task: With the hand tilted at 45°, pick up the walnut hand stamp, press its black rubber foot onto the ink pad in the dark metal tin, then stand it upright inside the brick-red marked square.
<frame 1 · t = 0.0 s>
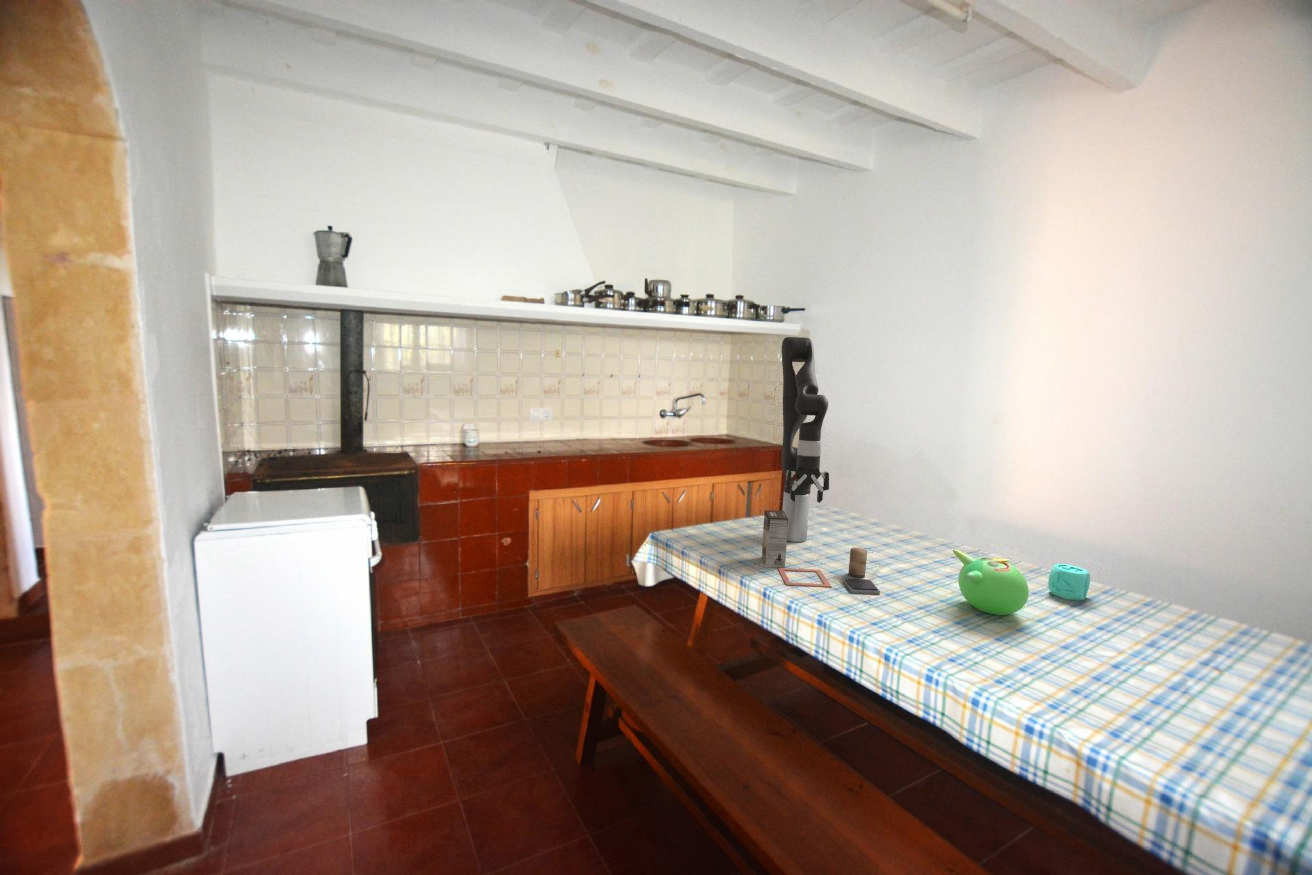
hand: (805, 501, 193), 17 cm above the table, tool pointing down, fingers open, 8 cm apart
stamp: (856, 575, 175), on the table
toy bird: (986, 610, 153), on the table
coffee box: (773, 563, 183), on the table
marked square: (803, 577, 171), on the table
decorative dice: (1066, 595, 166), on the table
ink pad: (860, 588, 165), on the table
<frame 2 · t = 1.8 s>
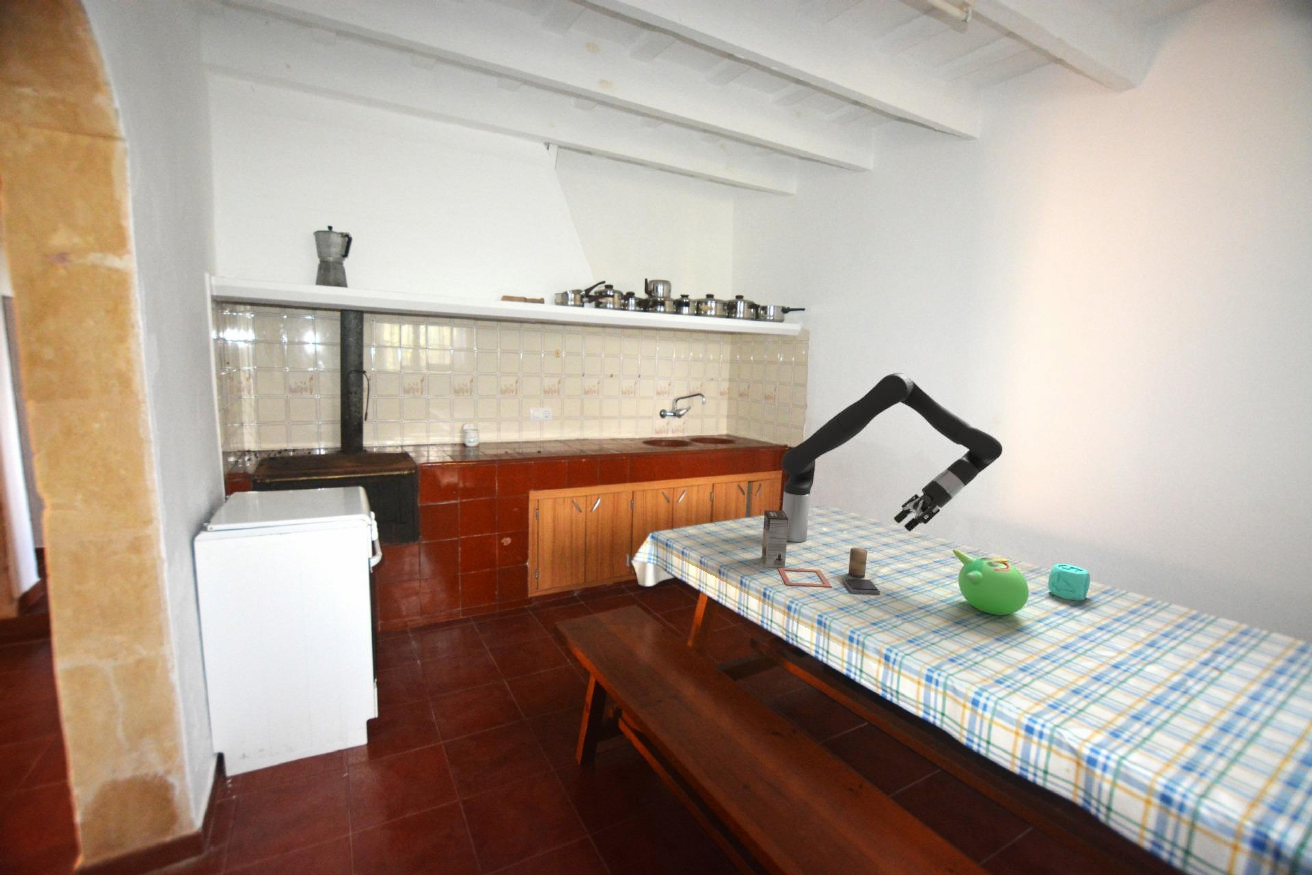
hand: (901, 524, 172), 17 cm above the table, tool tilted 45°, fingers open, 8 cm apart
nothing on the table moved.
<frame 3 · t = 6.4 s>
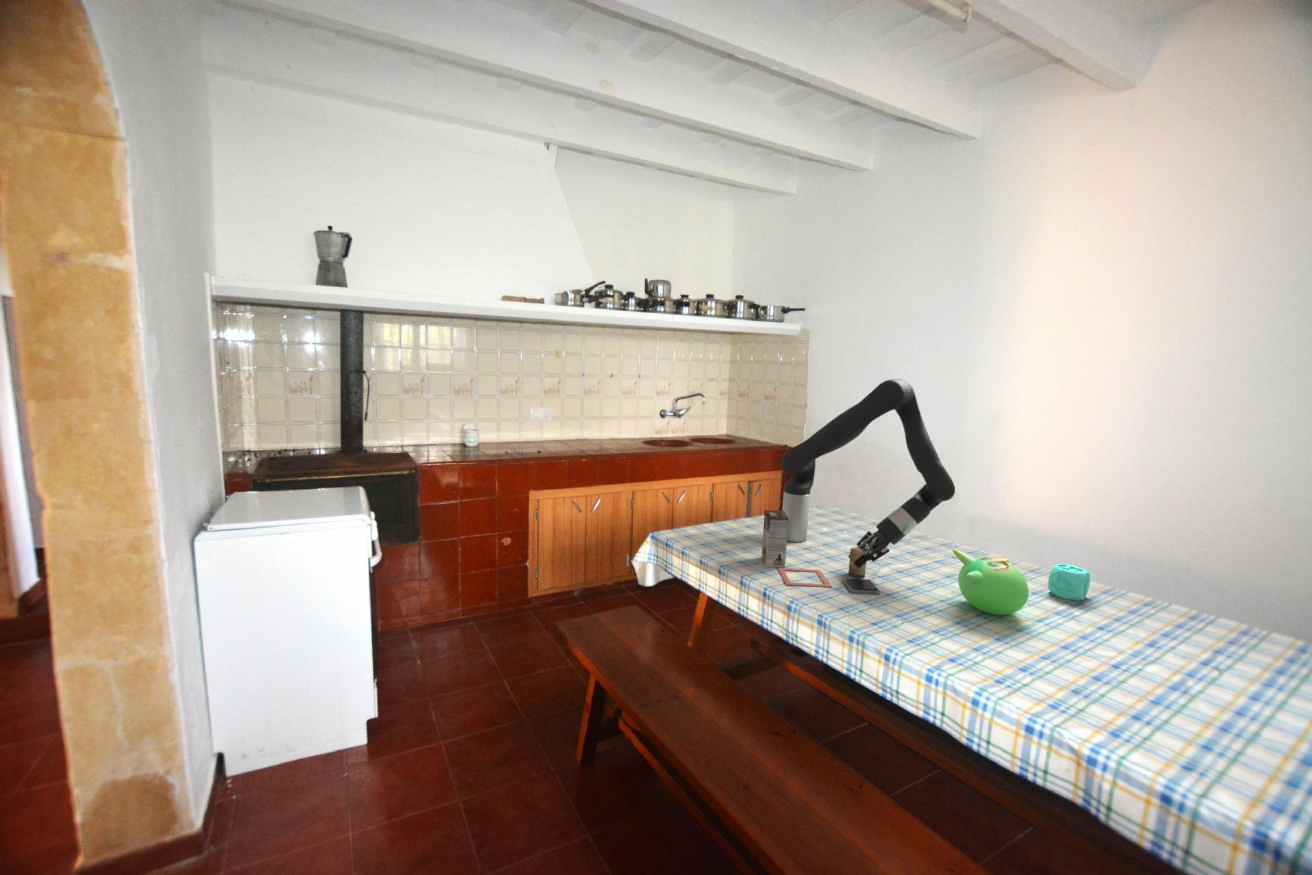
hand: (853, 562, 174), 4 cm above the table, tool tilted 45°, fingers closed on stamp, 4 cm apart
stamp: (856, 575, 175), on the table, touching gripper
everything else where it was.
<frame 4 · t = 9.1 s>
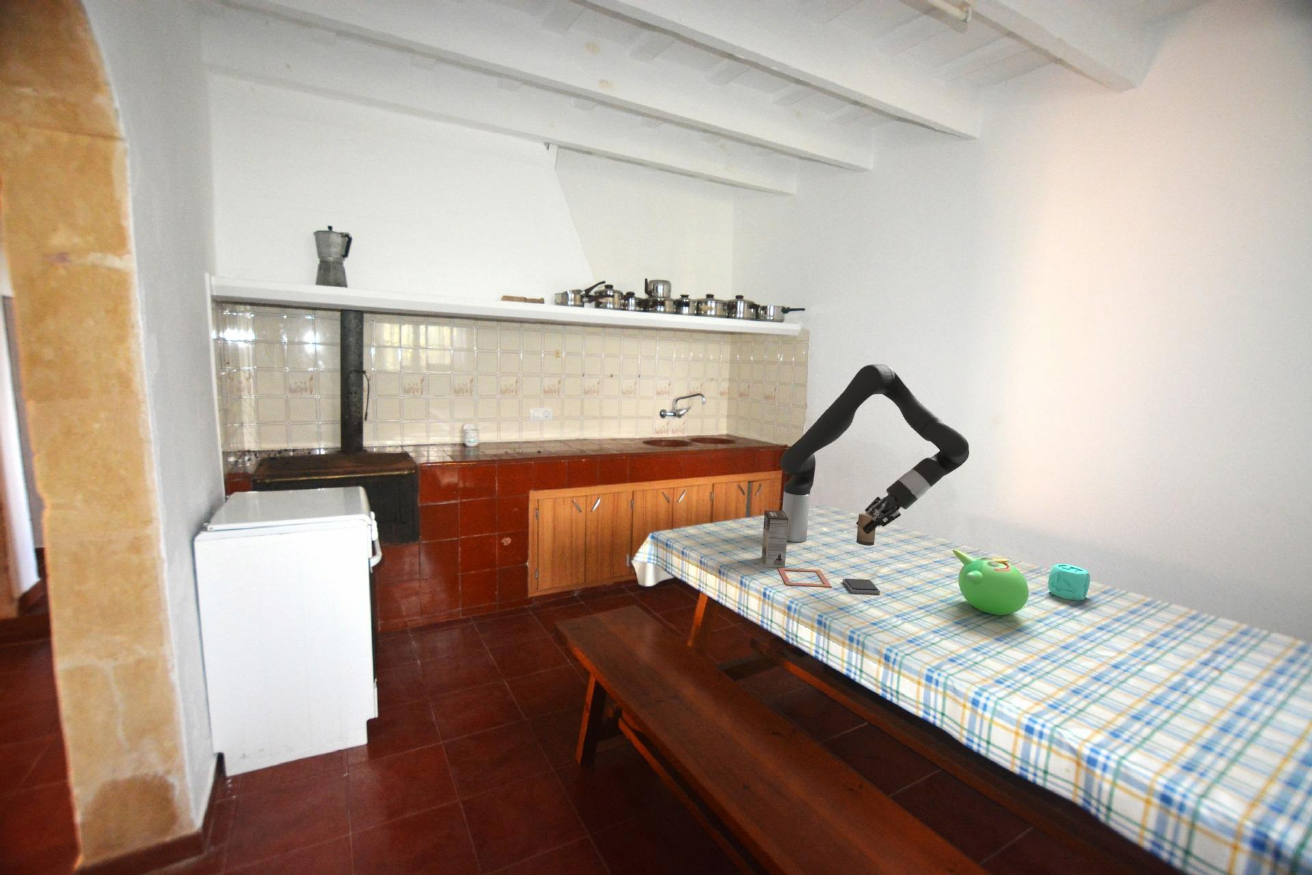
hand: (861, 528, 162), 18 cm above the table, tool tilted 45°, fingers closed on stamp, 4 cm apart
stamp: (865, 542, 163), point 13 cm above the table, touching gripper
everything else where it was.
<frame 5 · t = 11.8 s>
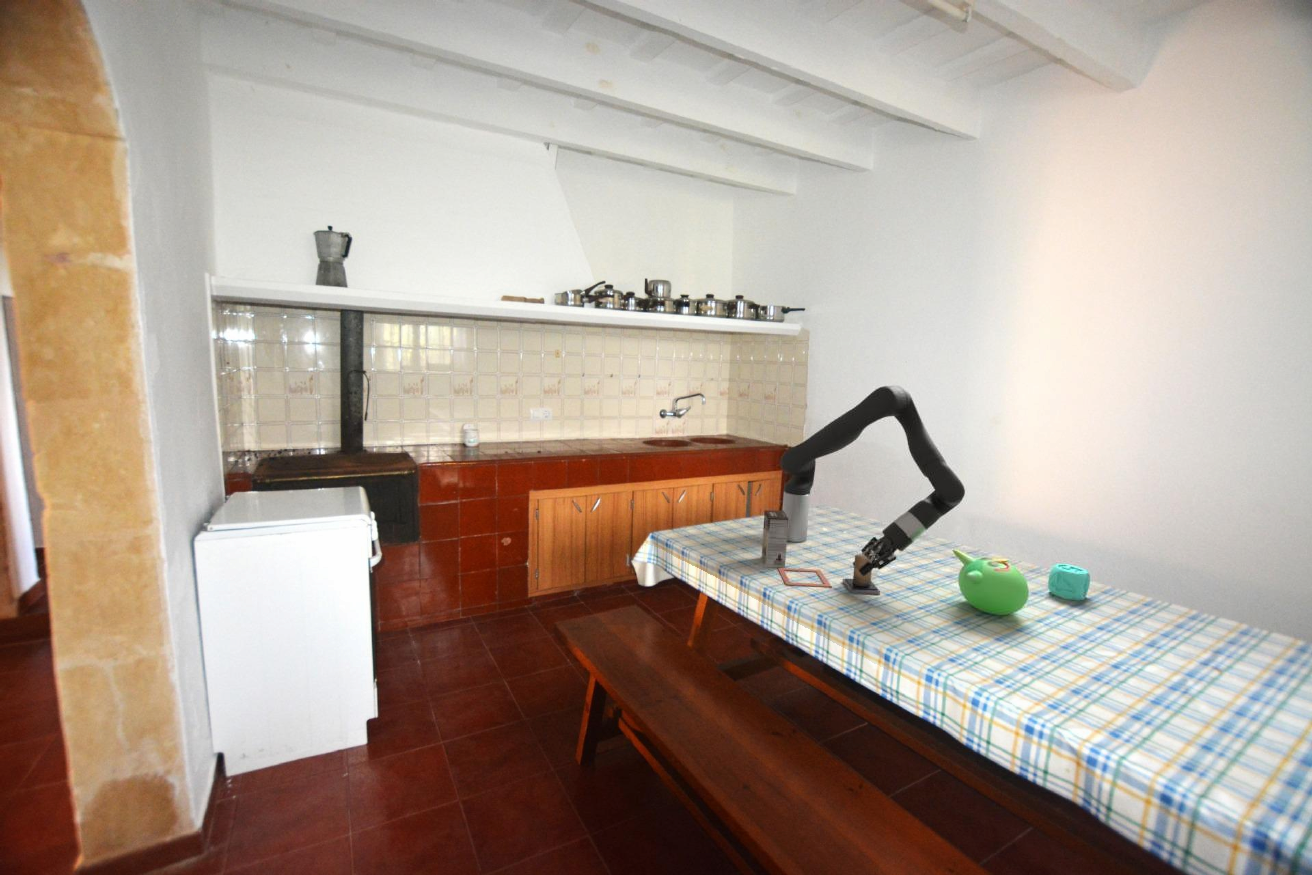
hand: (857, 569, 164), 5 cm above the table, tool tilted 45°, fingers closed on stamp, 4 cm apart
stamp: (861, 583, 165), point 1 cm above the table, touching gripper, ink pad
everything else where it was.
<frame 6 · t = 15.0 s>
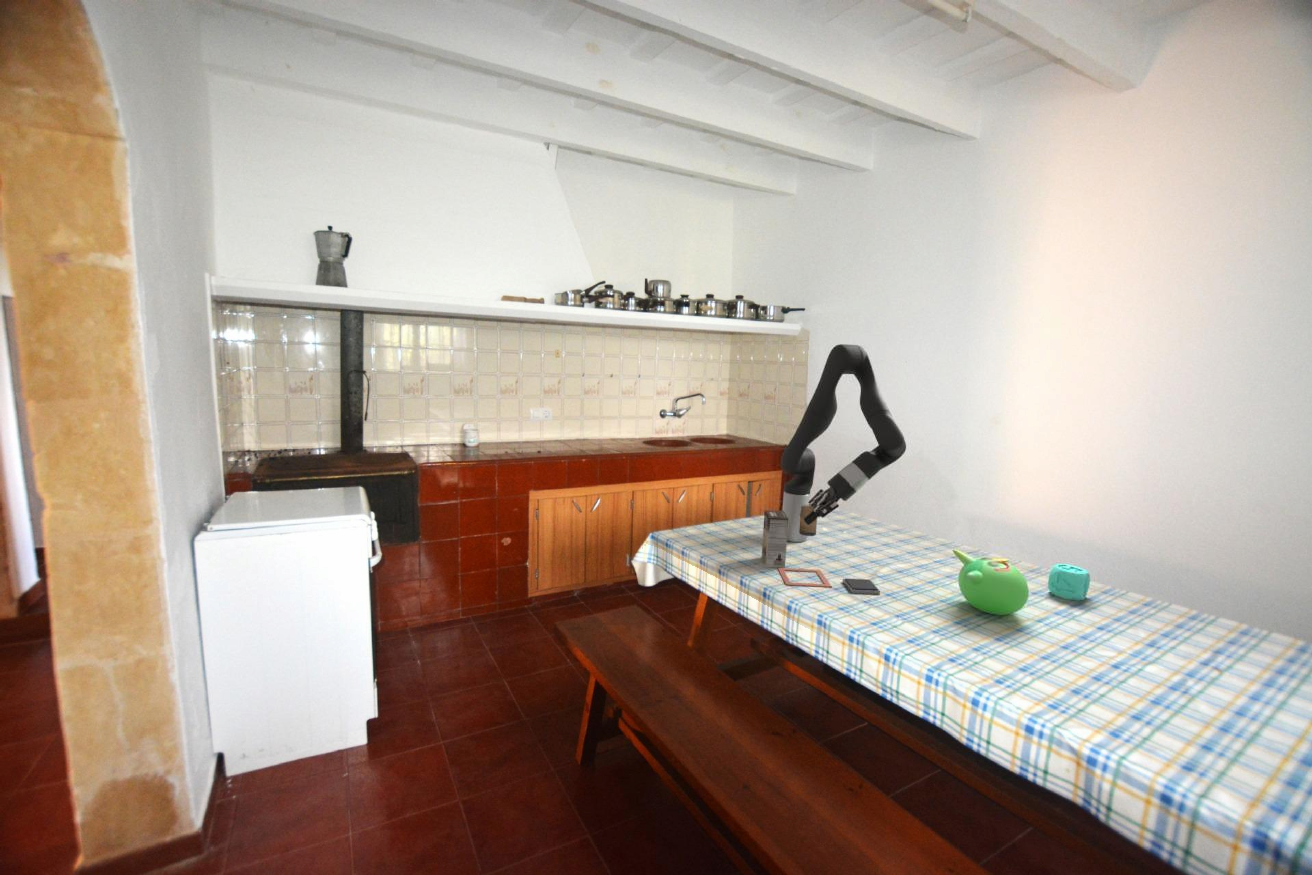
hand: (803, 519, 169), 18 cm above the table, tool tilted 45°, fingers closed on stamp, 4 cm apart
stamp: (807, 533, 169), point 14 cm above the table, touching gripper
everything else where it was.
when the fingers open (6 cm above the table, at t = 17.7 s): stamp drops 1 cm, on the table.
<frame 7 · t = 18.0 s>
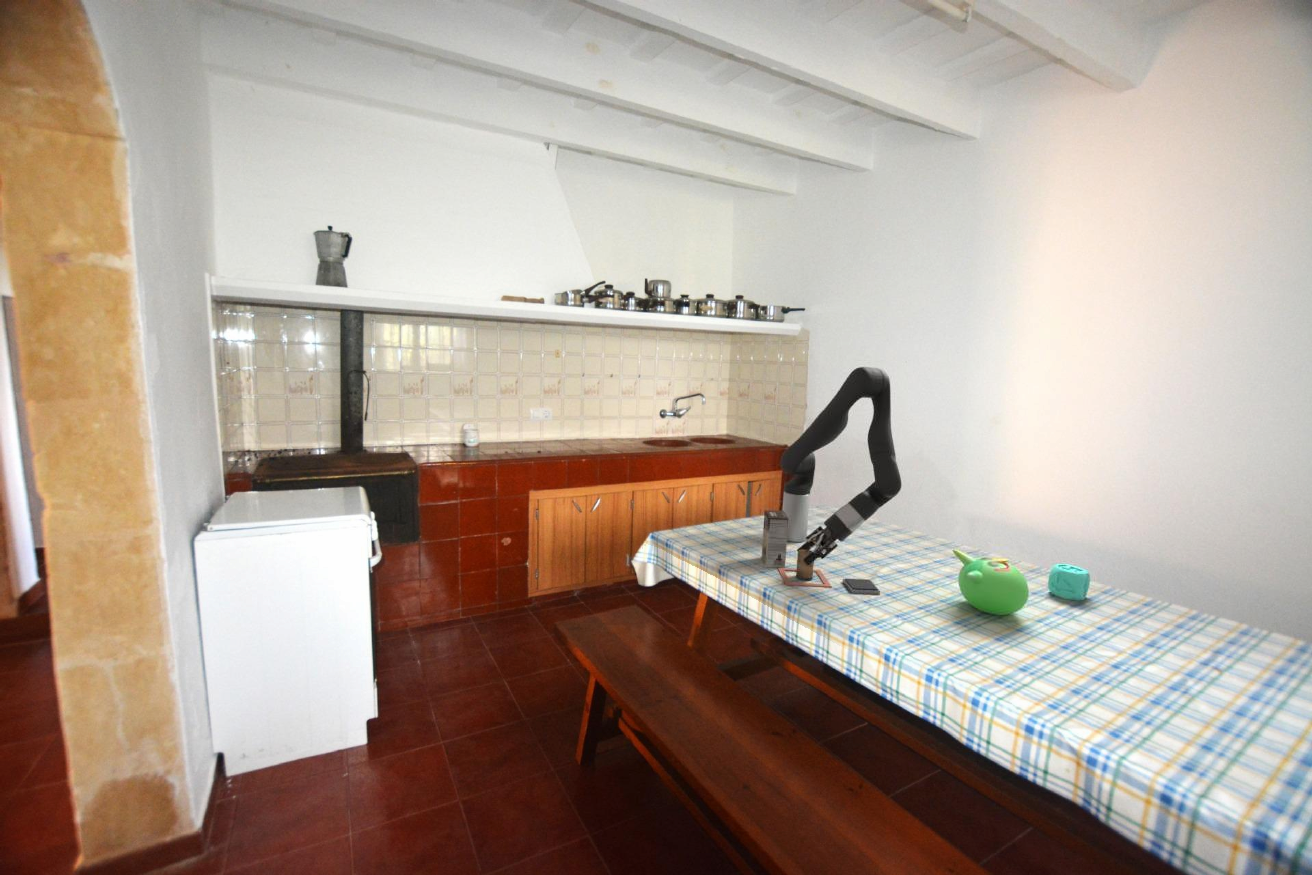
hand: (802, 557, 170), 6 cm above the table, tool tilted 45°, fingers open, 8 cm apart
stamp: (804, 577, 171), on the table
everything else where it was.
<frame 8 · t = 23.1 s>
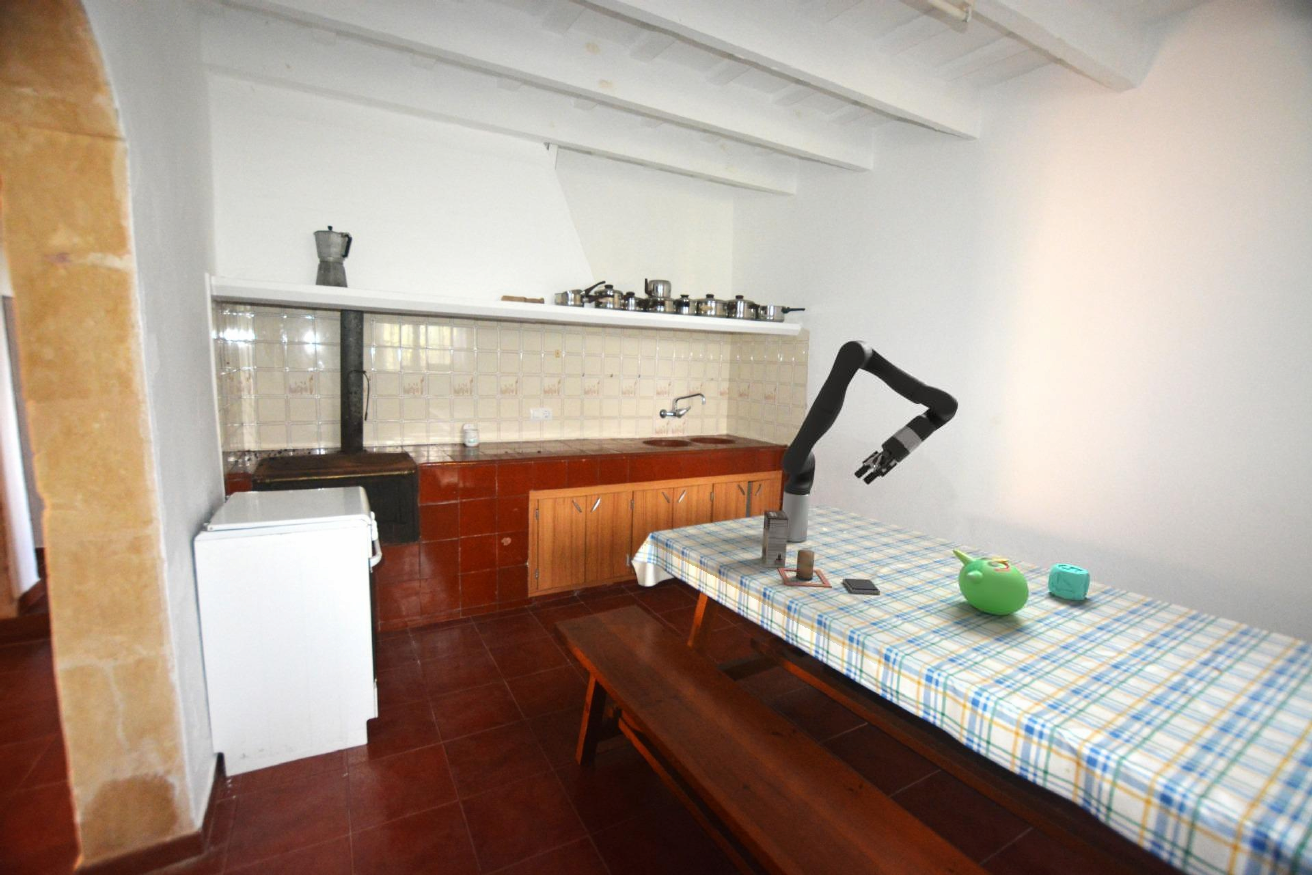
hand: (860, 479, 177), 29 cm above the table, tool tilted 45°, fingers open, 8 cm apart
nothing on the table moved.
at the end: stamp 0.2 cm off-centre on the marked square, point 0.0 cm above the marked square's base; stamp tilted 0°; the gripper is holding nothing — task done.
